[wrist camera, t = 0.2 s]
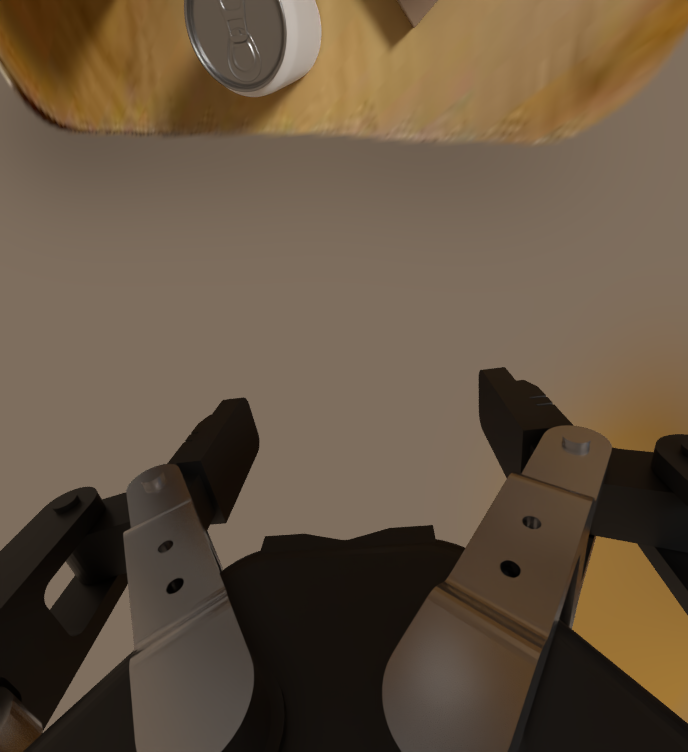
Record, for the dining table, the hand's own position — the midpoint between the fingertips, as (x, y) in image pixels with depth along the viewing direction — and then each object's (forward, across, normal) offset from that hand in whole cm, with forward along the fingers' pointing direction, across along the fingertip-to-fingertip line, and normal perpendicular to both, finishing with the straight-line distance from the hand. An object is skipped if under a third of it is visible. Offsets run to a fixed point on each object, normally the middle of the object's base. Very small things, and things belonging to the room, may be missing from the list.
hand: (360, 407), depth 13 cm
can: (+26, +4, -20) cm, 33 cm away
